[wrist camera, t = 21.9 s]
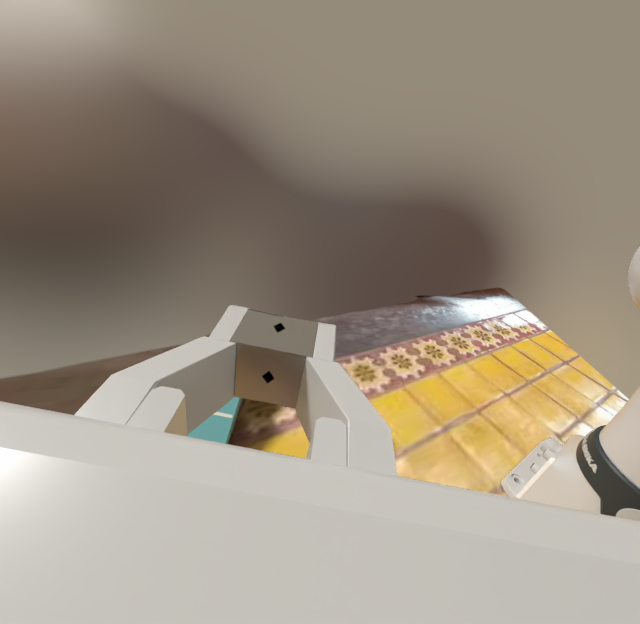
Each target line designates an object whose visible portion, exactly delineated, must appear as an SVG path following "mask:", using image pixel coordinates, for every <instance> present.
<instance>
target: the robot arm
mask: <svg viewBox="0 0 640 624" xmlns="http://www.w3.org/2000/svg"><path fill="white" fill-rule="evenodd" d="M628 284H629V290H630V293H631V296H632V298H633V300H634V302H635V304H636V305H637V307H638V308H639V310H640V246H639V248H638V249H637V251H636V253H635V254H634V256H633V259H632V261H631V264H630V267H629V272H628ZM335 341H336V326H335V325H331V324H325V323H319V322H318V323H317V322H312V321H306V320H300V319H295V318H289V317H284V316H281V315H277V314H272V313H268V312H263V311H259V310H254V309H249V308H245V307H240V306H235V305H231V306H229V307H228V309H227V310H226V312H225V313H224V315H223V317H222V318H221V319H220V321H219V323H218V324H217V326H216V327H215V329H214V330H213V332H212V333H211V335H210V336H209V337H204V336H203V337H201V338H199V339H196V340H194V341H191V342H189V343H187V344H184V345H182V346H179V347H177V348H175V349H172V350H170V351H167V352H165V353H163V354H160V355H158V356H155V357H153V358H151V359H148V360H146V361H143V362H141V363H139V364H136V365H134V366H131V367H129V368H127V369H124V370H122V371H119V372H117V373H115V374H112V375H111V376H110V377H109V378H108V379H107V380H106V381H105V382H104V384H103V385H102V386H101V387H100V388H99V389H98V390H97V391H96V392H95V393H94V394H93V395H92V396H91V397H90V399H89V400H88V401H87V402H86V403H85V404H84V405H83V406H82V407H81V408H80V409H79V410H78V411H77V412H76V414H75V415H70V414H64V413H59V412H54V411H48V410H43V409H38V408H32V407H27V406H22V405H16V404H11V403H6V402H0V624H640V386H639V388H638V389H637V390H636V392H635V393H634V394H633V395H632V397H631V398H630V399H629V400H628V402H627V403H626V404H625V405H624V406H623V408H622V409H621V410H620V411H619V412H618V413H617V414H616V416H615V417H614V418H613V419H612V420H611V421H610V422H609V423H608V424H607V425H604V426H600V427H598V428H597V429H594V430H592V431H591V432H589V433H588V434H587V435H586V436H581V435H571V436H570V437H569V438H568V439H567V440H566V441H565V442H564V444H563V445H561V444H560V445H559V443H557V441H555V440H554V439H552V438H550V437H549V438H548V439H547V440H543V441H542V442H541V443H539V444H538V445H537V446H536V447H535V448H534V449H533V450H532V451H531V452H530V453H529V454H528V455H527V456H526V457H525V458H524V459H523V460H522V461H521V462H520V463H519V464H518V465H517V466H516V467H515V468H514V469H512V470H511V471H510V472H509V473H508V474H507V475H506V476H505V477H504V478H503V479H502V481H501V484H502V487H503V489H504V491H505V492H506V494H507V495H508V497H507V496H502V495H496V494H491V493H486V492H480V491H475V490H470V489H464V488H459V487H454V486H448V485H443V484H438V483H432V482H427V481H421V480H416V479H411V478H405V477H400V476H397V472H396V464H395V456H394V449H393V441H392V433H391V428H390V427H389V426H388V424H387V423H386V422H385V421H384V419H383V418H382V417H381V415H380V414H379V413H378V412H377V410H376V409H375V408H374V407H373V405H372V404H371V403H370V401H369V400H368V399H367V398H366V396H365V395H364V394H363V393H362V391H361V390H360V389H359V387H358V386H357V385H356V384H355V382H354V381H353V380H352V379H351V377H350V376H349V375H348V373H347V372H346V371H345V370H344V368H343V367H342V366H341V365H340V363H336V362H334V357H335ZM233 397H238V398H244V399H250V400H256V401H262V402H267V403H272V404H276V405H281V406H286V407H290V408H295V409H296V412H297V415H298V417H299V419H300V422H301V424H302V426H303V429H304V431H305V433H306V436H307V438H308V440H309V443H310V444H309V448H308V452H307V456H306V459H305V458H299V457H294V456H289V455H283V454H278V453H273V452H267V451H262V450H257V449H251V448H246V447H241V446H235V445H230V444H225V443H219V442H214V441H209V440H203V439H198V438H193V437H187V435H188V434H189V433H190V432H191V431H193V430H194V429H195V428H197V427H198V426H199V425H200V424H202V423H203V422H204V421H205V420H207V419H208V418H209V417H211V416H212V415H213V414H214V413H216V412H217V411H218V410H219V409H221V408H222V407H223V406H224V405H226V404H227V403H228V402H230V401H231V400H232V399H233Z"/></svg>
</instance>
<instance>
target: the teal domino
mask: <svg viewBox="0 0 640 624" xmlns="http://www.w3.org/2000/svg"><path fill="white" fill-rule="evenodd" d="M241 399H242V398H238V397H233V399H232V400H231V401H230V402H228V403H227V404H226V405H224V406H223V407H222V408H221V409H219V410H218V411H217V412H216V413H214V414H213V415H212V416H211V417H209V418H208V419H207V420H205V421H204V422H203V423H202V424H200V425H199V426H198V427H197V428H195V429H194V430H193V431H191V432H190V433H189V434H188V435H187V437H193V438H198V439H203V440H209V441H214V442H219V443H225V444H228V442H229V439H230V436H231V432H232V429H233V426H234V422H235V419H236V416H237V412H238V409H239V406H240V402H241Z"/></svg>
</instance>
